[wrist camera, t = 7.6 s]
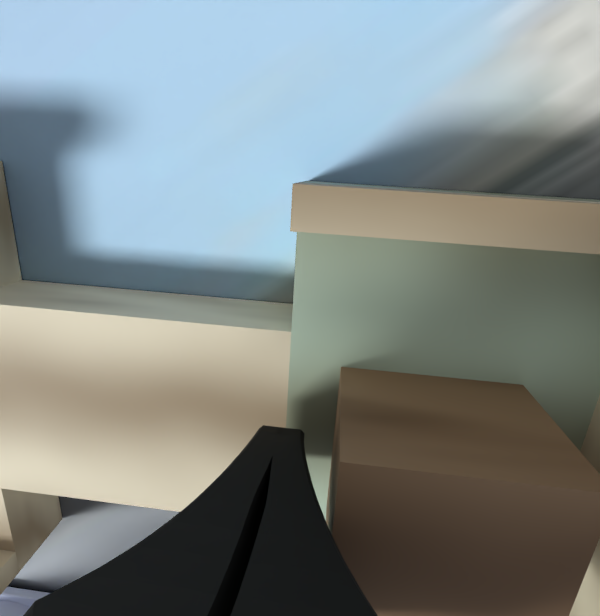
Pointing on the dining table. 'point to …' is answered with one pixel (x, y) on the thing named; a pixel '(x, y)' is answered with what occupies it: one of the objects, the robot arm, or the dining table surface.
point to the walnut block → (458, 497)
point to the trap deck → (291, 348)
